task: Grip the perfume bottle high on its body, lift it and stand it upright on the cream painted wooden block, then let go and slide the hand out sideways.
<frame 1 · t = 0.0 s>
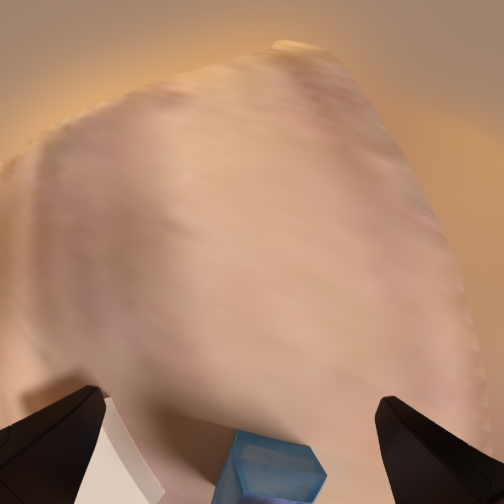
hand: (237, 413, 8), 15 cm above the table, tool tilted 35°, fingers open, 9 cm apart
perfume bottle: (262, 468, 19), on the table
cream block: (97, 456, 19), on the table
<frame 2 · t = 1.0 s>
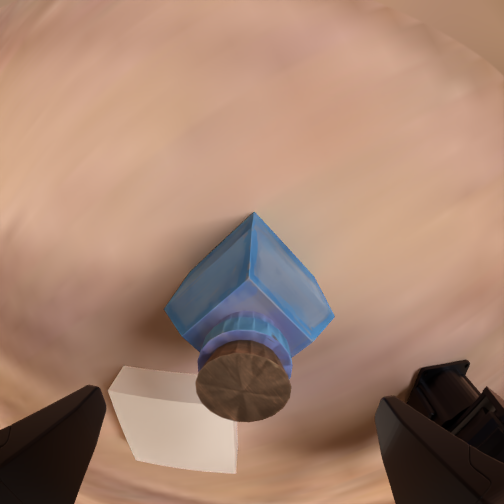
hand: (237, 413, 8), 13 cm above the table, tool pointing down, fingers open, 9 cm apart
perfume bottle: (252, 274, 21), on the table
cream block: (184, 409, 24), on the table
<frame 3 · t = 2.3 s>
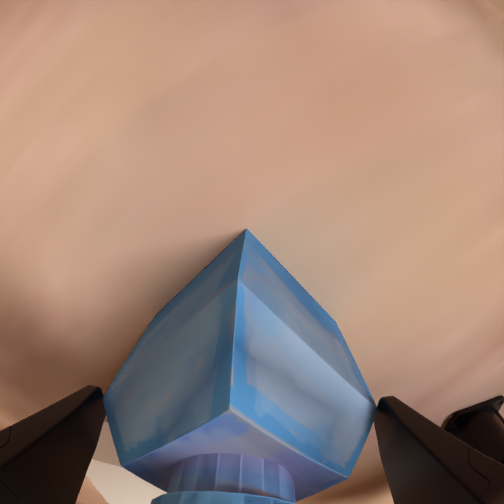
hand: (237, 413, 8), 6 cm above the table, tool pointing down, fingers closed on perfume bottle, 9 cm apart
perfume bottle: (244, 319, 14), on the table, touching gripper
cream block: (167, 465, 18), on the table
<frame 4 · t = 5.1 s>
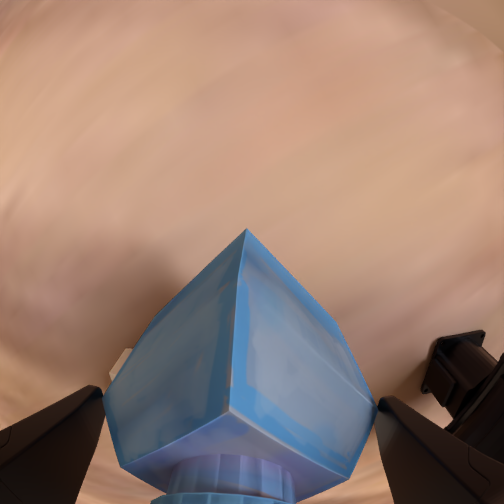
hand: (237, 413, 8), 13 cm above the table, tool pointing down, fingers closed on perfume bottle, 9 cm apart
perfume bottle: (244, 319, 14), point 7 cm above the table, touching gripper
when the fingers open (11 cm above the table, at t = 7.6 s): perfume bottle drops 2 cm, point 3 cm above the table.
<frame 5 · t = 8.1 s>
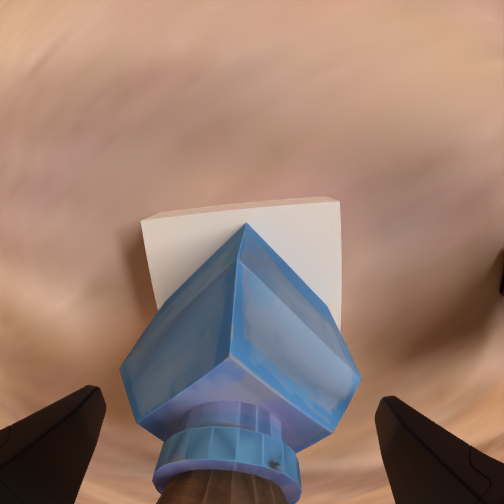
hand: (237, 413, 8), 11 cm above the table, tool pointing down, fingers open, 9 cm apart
perfume bottle: (245, 304, 16), point 3 cm above the table
cream block: (249, 279, 19), on the table
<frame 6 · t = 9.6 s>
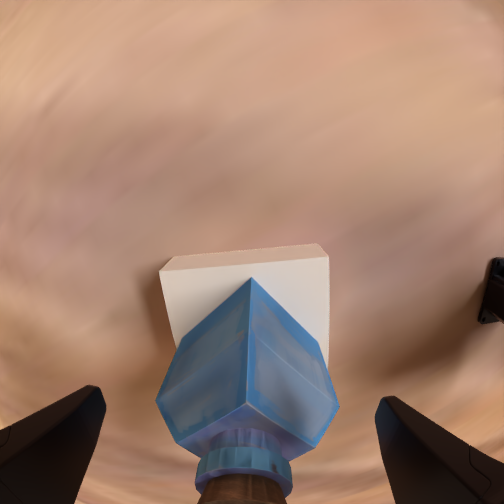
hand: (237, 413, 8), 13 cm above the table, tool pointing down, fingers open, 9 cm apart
perfume bottle: (250, 339, 18), point 3 cm above the table, touching cream block
cream block: (251, 312, 22), on the table, touching perfume bottle
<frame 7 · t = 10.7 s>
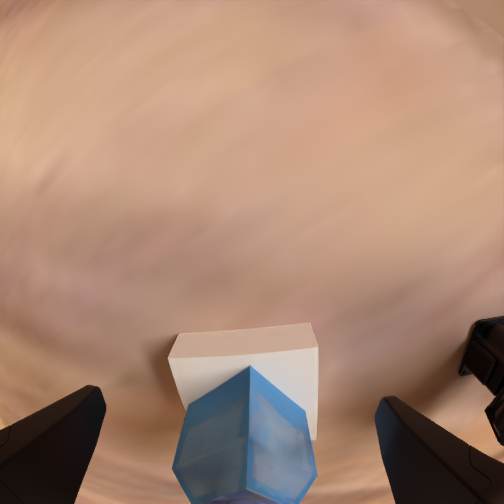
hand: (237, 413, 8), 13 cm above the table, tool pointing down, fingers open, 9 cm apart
perfume bottle: (247, 408, 20), point 3 cm above the table, touching cream block
cream block: (250, 375, 23), on the table, touching perfume bottle
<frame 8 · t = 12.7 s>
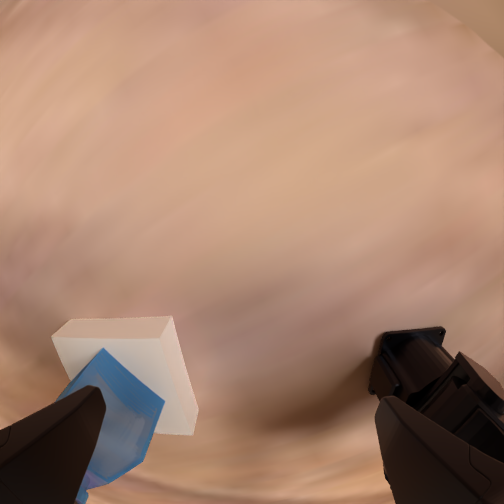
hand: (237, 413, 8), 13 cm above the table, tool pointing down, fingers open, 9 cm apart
perfume bottle: (115, 390, 20), point 3 cm above the table, touching cream block
cream block: (135, 363, 24), on the table, touching perfume bottle
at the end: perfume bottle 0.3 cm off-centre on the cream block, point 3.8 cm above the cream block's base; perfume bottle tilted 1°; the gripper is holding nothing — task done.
